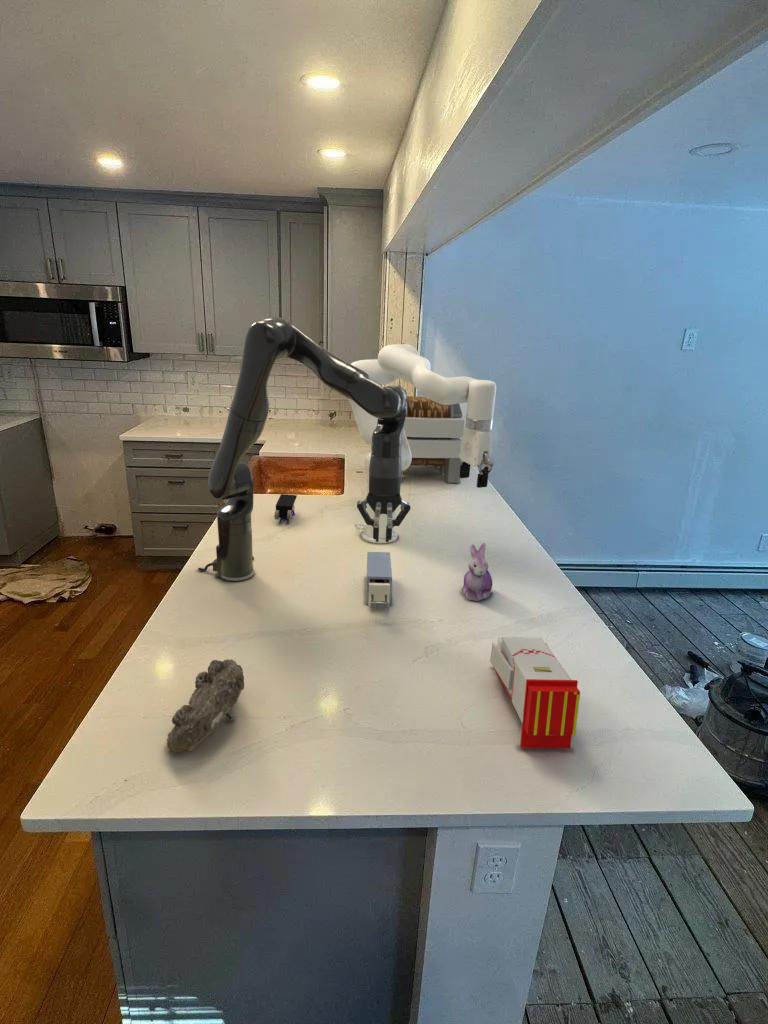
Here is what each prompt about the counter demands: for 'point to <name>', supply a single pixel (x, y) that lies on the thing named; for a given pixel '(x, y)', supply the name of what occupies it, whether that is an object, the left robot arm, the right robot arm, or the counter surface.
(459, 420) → the transformer
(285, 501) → the figurine character
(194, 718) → the fossil
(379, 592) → the drawer
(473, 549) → the figurine
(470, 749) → the counter surface
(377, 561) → the blue-grey slab
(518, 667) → the toy
